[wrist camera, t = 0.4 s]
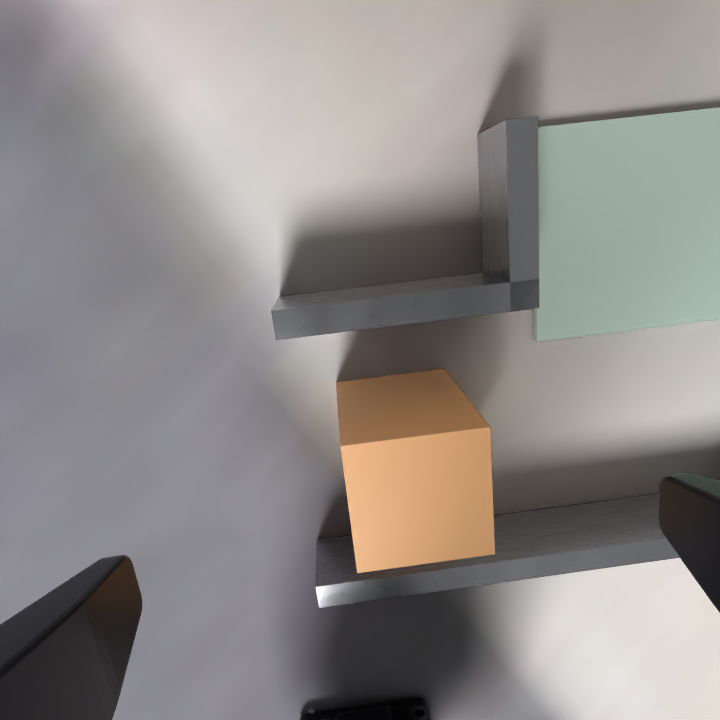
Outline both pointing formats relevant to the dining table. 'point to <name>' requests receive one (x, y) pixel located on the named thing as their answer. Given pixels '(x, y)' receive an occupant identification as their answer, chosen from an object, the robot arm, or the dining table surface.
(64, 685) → the robot arm
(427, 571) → the steel rail course
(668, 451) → the dining table surface
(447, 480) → the orange block
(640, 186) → the pad
